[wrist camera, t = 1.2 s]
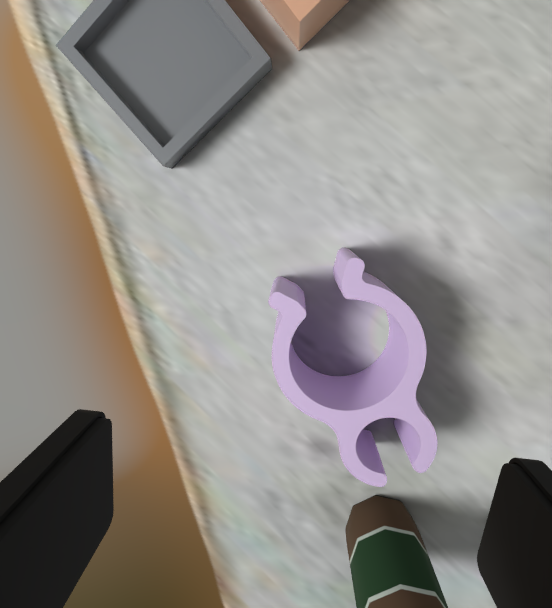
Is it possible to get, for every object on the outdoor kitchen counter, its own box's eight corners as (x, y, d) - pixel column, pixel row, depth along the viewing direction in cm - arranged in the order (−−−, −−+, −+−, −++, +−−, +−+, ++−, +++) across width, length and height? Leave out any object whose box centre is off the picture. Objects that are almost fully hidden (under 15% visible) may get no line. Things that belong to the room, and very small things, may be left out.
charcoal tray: (171, -59, 31) (161, -81, 29) (272, 68, 33) (270, 57, 30) (73, 56, 33) (55, 45, 31) (172, 168, 35) (163, 165, 33)
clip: (442, 413, 40) (472, 455, 34) (330, 454, 42) (337, 502, 36) (370, 234, 36) (388, 242, 29) (249, 288, 38) (240, 307, 31)
